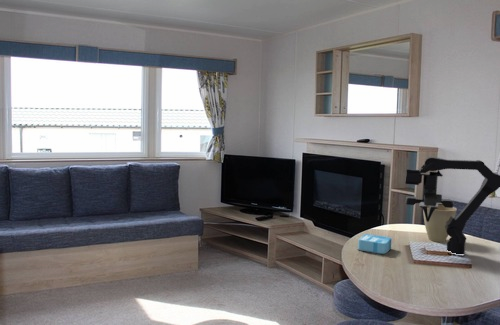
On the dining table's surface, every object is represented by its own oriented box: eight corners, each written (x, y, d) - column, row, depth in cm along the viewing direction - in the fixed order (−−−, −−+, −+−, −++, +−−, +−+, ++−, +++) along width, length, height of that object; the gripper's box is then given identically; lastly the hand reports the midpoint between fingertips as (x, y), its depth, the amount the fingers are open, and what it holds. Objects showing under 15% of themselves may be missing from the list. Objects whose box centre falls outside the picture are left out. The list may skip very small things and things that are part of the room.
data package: (385, 243, 197) (357, 239, 203) (385, 254, 197) (357, 249, 203) (392, 237, 207) (365, 233, 213) (391, 247, 208) (364, 243, 214)
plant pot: (425, 243, 218) (427, 209, 216) (417, 235, 232) (419, 203, 231) (458, 245, 216) (461, 211, 214) (449, 237, 231) (451, 204, 229)
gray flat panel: (388, 248, 208) (388, 247, 208) (381, 254, 199) (381, 253, 199) (365, 244, 214) (365, 243, 214) (357, 249, 204) (357, 249, 204)
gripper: (407, 187, 198) (405, 223, 199) (455, 190, 193) (453, 227, 194) (406, 183, 208) (404, 218, 210) (452, 186, 203) (449, 221, 205)
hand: (427, 221), depth 204 cm, fingers closed
